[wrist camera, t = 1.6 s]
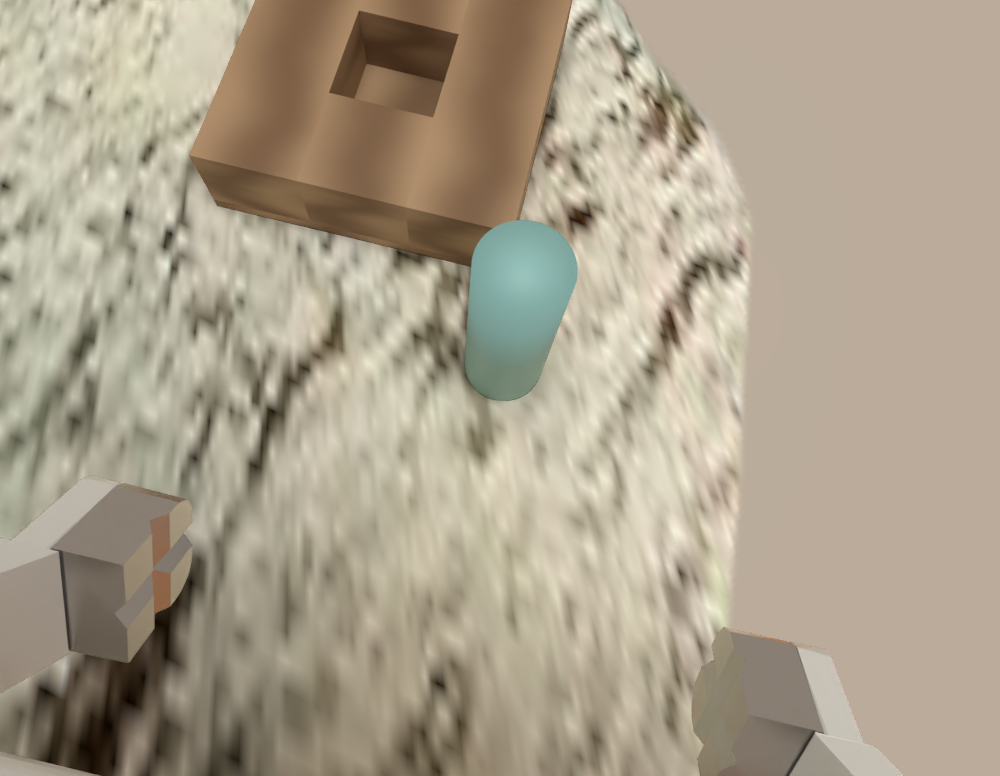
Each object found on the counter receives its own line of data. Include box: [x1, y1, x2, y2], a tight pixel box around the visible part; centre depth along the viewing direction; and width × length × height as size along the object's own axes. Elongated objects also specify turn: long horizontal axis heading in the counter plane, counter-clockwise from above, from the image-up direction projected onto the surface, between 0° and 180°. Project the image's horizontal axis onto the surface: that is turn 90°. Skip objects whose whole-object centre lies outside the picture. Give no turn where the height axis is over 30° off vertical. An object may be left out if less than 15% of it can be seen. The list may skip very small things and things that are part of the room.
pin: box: [464, 220, 577, 401], centre depth 33 cm, size 4×4×11 cm
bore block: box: [189, 0, 572, 266], centre depth 40 cm, size 16×16×4 cm
